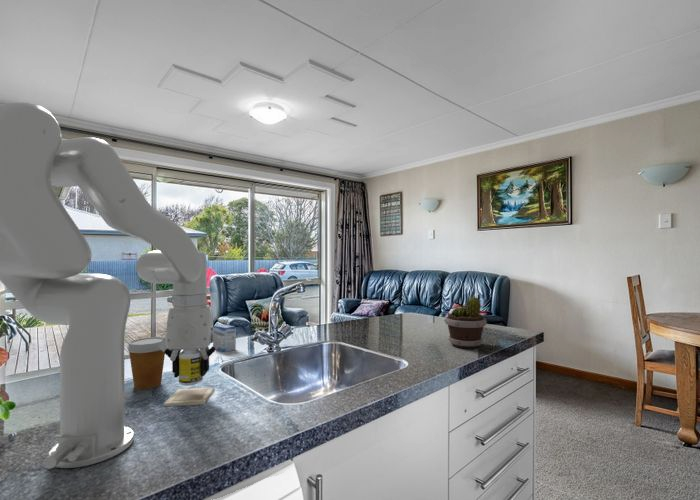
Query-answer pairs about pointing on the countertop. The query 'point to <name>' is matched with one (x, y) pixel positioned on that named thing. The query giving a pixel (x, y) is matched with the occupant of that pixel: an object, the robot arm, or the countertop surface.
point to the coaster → (189, 396)
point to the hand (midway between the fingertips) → (191, 374)
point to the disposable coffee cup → (146, 362)
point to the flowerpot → (466, 324)
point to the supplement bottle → (190, 367)
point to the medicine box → (226, 336)
